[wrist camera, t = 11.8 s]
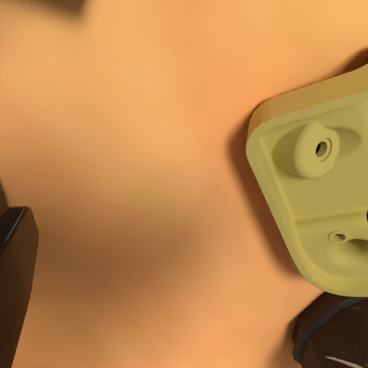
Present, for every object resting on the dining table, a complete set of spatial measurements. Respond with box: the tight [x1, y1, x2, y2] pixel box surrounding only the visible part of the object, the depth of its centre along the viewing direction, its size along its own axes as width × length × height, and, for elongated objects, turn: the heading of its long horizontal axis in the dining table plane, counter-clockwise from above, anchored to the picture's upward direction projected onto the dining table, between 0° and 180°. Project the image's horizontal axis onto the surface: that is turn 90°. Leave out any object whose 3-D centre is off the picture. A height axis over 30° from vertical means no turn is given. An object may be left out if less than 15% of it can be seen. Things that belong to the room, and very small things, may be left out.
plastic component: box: [246, 63, 368, 297], centre depth 26 cm, size 20×7×10 cm
